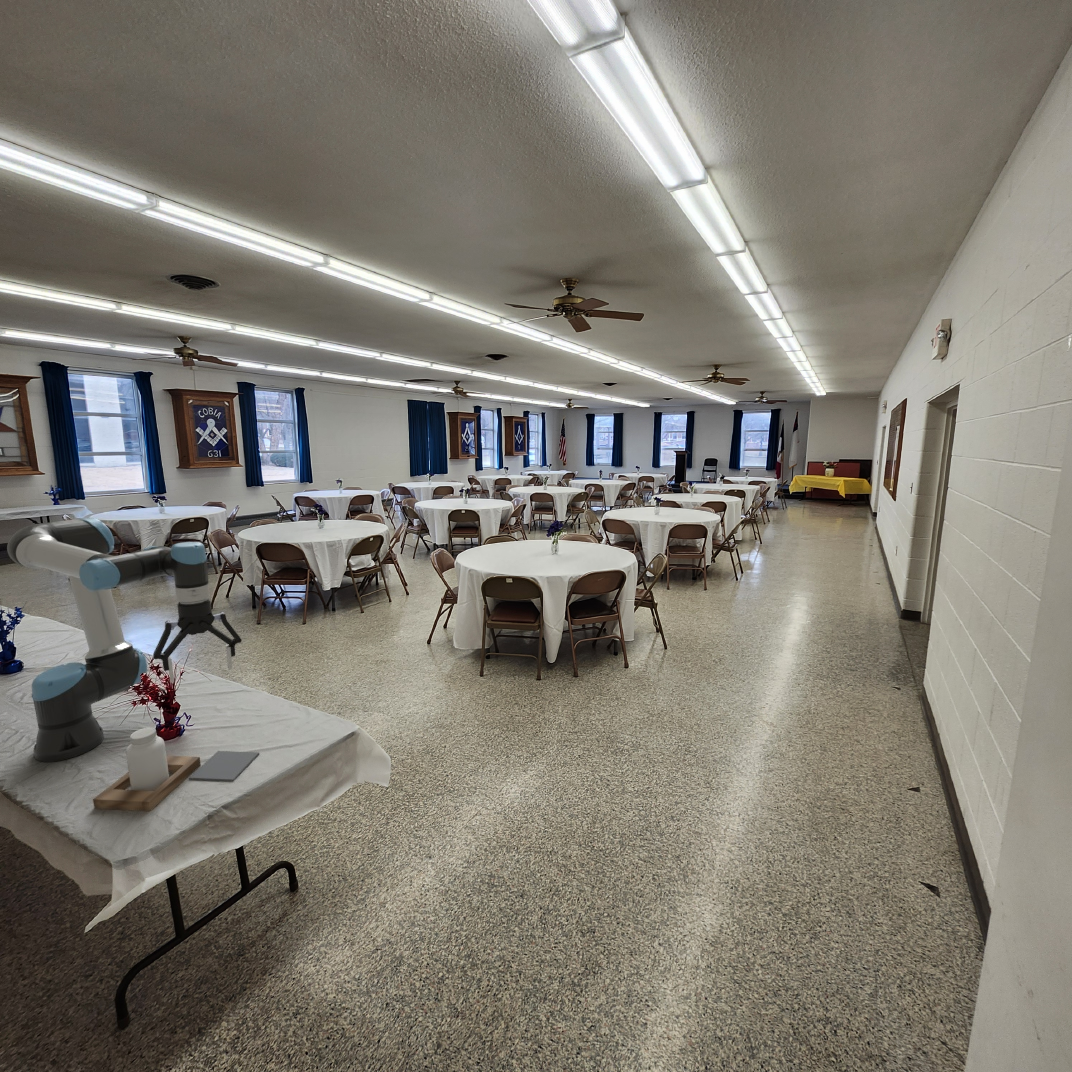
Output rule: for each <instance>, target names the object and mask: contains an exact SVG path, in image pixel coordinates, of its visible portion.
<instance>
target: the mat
mask: <svg viewBox="0 0 1072 1072" xmlns="http://www.w3.org/2000/svg"><path fill="white" fill-rule="evenodd" d="M259 755H260V752H259V751H258V752H257V751H256V752H255V751H254V752H253V751H232V750H231V751H230V750H229V751H228V750H217V751H216V752H215V753H214V754H213V755H212V756H211V757H209V759H207V760H206V761H205V762H204V763H203V764H201V765H200V766H199V767H198V768H197V769H196V770H195V771H194V772H193V773H192V774H190V775H189V776H188V779H189V780H196V781H199V780H200V781H217V782H218V781H219V782H220V781H221V782H224V781H225V782H234V781H235V780H236V779H237V778H238V776H240V775H241V774H242V773H243V772H244V771H245V770H246V768H248V766H249V765H250V764H252V762H253V761H254V760H255V759H256V758H257V757H258V756H259Z"/></svg>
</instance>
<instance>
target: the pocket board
mask: <svg viewBox="0 0 1072 1072" xmlns="http://www.w3.org/2000/svg"><path fill="white" fill-rule="evenodd" d="M166 758H167V765H168V772H169V774H172V775H170V776H169V778H168V779H167V780H166V781H165V782H164V783H163V784H161V785H160V786H159V787H158V788H157V789H156V790H155V791H140V790H132V789H128V788H129V787H131V784H130V777H129V771H128V772H127V773H125V774H123V776H121V777H120V778H119V779H117V780H115V782H113V783H112V784H110V785H109V786H108V787H107V788H106V789H104V790H102V792H100V793H99V794H97V796H95V797H94V798H92V802H93V808H94V809H95V810H96V809H98V810H100V809H101V810H102V809H103V810H104V809H105V810H121V811H143V812H150V811H152V810H154V808H155V807H156V806H157V805H159V804H160V803H161V802H162V801H164V800H165V798H166V797H167V796H169V795H170V794H171V793H172V792H173V791H174V790H176V788H177V787H179V785H181V784H182V783H183V782H184V781H185V780H186V779H187V778H189V777H190V776H191V775H192V774H193V773H194V772H195V771H197V770H198V769H199V768H200V767H201V766H202V764H201V758H200V756H189V755H187V756H186V755H185V756H184V755H182V756H181V755H180V756H179V755H166Z"/></svg>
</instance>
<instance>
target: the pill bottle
mask: <svg viewBox="0 0 1072 1072" xmlns="http://www.w3.org/2000/svg"><path fill="white" fill-rule="evenodd" d="M129 739H130V740H129V741H130V744H129V745H128V747H126V750H125V757H126V764H127V769H128V770H127V771H128V772H129V777H130V784H131V785H130V790H140V791H155V790H156V789H157V788H158V787H159V786H160V785H161V784H163V783H164V782H165V781H166V780H167V779H168V778H169V777H170V773H169V772H168V765H167V758H166V756H167V751H166V744H165V740H164V739H163V737H160V736H158V735H157V730H156V728H154V727H149V726H148V727H143V728H140V729H137V730H136V731H134V732H132V733H131V734H130V736H129Z"/></svg>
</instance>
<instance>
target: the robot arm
mask: <svg viewBox="0 0 1072 1072" xmlns="http://www.w3.org/2000/svg"><path fill="white" fill-rule="evenodd" d="M114 545H115V539H114V535H113V534H112V531H111V530H110V528H109V527H108V526H107V525H106V524H105V523H104V522H103V521H102V520H100V519H97V518H93V517H91V518H88V517H86V518H76V519H73V518H72V519H66V520H59V521H52V522H50V521H49V522H45V523H35V524H31V525H27V526H25V527H22V528H21V529H18V530H17V531H16V532H15V533H14V534H13V535H12V536H11V537H10V539H9V540H8V542H7V547H6V550H7V554H8V556H9V559H11V560H12V561H13V562H14V563H16V564H17V565H19V566H21V567H24V568H28V569H34V570H41V569H46V570H50V571H52V572H55V573H56V572H57V573H61V574H63V575H67V576H68V579H69V583H70V585H71V589H72V593H73V596H74V601H75V603H76V607H77V611H78V614H79V615H78V616H79V618H80V621H81V625H82V628H83V632H84V633H83V634H84V635H85V638H86V643H87V646H88V652H87V653H85V655H84V660H85V664H84V663H82V662H79V661H78V662H75V661H74V662H68V663H65V664H60V665H56V666H53V667H52V668H48V669H47V670H44V671H43V672H41V673H40V674H37V676H36V677H35V678H34V679H33V681H32V682H31V698H32V702H33V706H34V711H35V716H36V722H37V726H38V730H37V734H36V735H37V736H36V741H35V744H34V747H33V755H34V756H33V757H34V758H35V760H36V761H39V762H42V763H44V762H46V763H52V762H59V761H63V760H68V759H72V758H74V757H77V756H78V757H79V756H80V755H83V754H85V753H87V752H90V751H92V750H93V749H95V748H96V747H97V746H99V745H100V744H102V742H103V741H104V738H105V734H104V730H103V728H102V726H100V723H99V722H98V720H97V719H96V718H95V716H94V715H93V710H92V705H94V704H96V703H97V702H100V701H103V700H106V699H108V698H110V697H112V696H115V695H118V694H120V693H122V692H127V691H129V690H130V689H129V687H130V686H133V685H134V684H137V683H140V682H141V676H140V674H142V673H146V675H147V674H148V663H147V659H146V656H145V655H144V654H143V651H142V650H141V649H139V648H136V647H133V644H132V643H131V642H128V641H127V640H125V636H124V633H123V629H122V625H121V622H120V618H119V615H118V612H117V611H118V610H117V608H116V604H115V600H114V599H115V598H114V597H113V593H112V590H111V589H113V588H117V587H120V586H125V585H129V584H134V583H136V582H142V581H145V580H150V579H155V578H159V577H164V576H165V577H166V576H167V577H173V579H174V587H175V589H174V590H175V595H176V601H177V602H178V603H177V613H178V619H177V621H170V620H166V621H165V622H164V630H163V633H162V635H161V637H160V639H159V641H158V642H157V644H156V647H155V650H154V651H153V654H152V655H153V656H152V657H153V659H154V660H161V661H162V667H163V668H162V669H163V671H164V672H166V671H168V673H169V681H170V684H172V683H175V676H174V669H173V661H172V656H171V655H172V654H173V653H174V651H175V650H176V649H177V648H178V646H179V645H180V644H181V643H182V641H183V640H184V639H186V637H187V636H188V635H189V636H194V635H197V634H205V633H206V632H207V631H208V632H210V633H211V634H213V635H214V636H215V637H217V638H218V639H220V640H221V641H223V642H224V643H225V650H226V651H225V653H226V660H227V668H228V670H229V671H230V670H233V663H232V662H233V661H232V658H233V657H235V656H236V647H235V646H236V645H237V644H240V643H242V641H243V640H242V638H241V636H240V635H239V634H238V633H237V631H236V630H235V629H234V627H233V626H232V625H231V624H230V622H229V621H228V620H227V616H226V613H225V612H224V611H220V612H218V613H216V614H213V610H212V600H211V599H210V597H211V592H210V584H209V571H208V570H209V569H208V556H207V554H206V549H205V548H206V547H205V545H204V544H203V543H202V542H198V541H186V542H185V541H184V542H178V543H174V544H173V545H172V546H171V547H168V546H163V545H153V546H152V545H151V546H148V547H146V548H144V549H143V550H142V551H141V550H140V551H136V552H130V553H125V554H120V555H111V554H110V553H112V552H113V551H114V549H115V546H114ZM215 620H217V621H218V622H220V623H222V624H223V626H224V627H225V628H226V630H227V632H229V634H230V635H231V637H232V638H230V637H229V636H227V635H226V634H225V633H223V632H222V631H220V630H219V629H218V628H216V627H215V626H214V625H213V623H214V621H215ZM176 627H178V628H179V629H180V630H179V631H178V634H177V635H176V636H175V637H174V638H173V640H172V641H171V643H170V644H169V645H168V646H167V648H166V649H165V647H166V644H167V642H168V639H169V638H170V635H171V633H172V631H174V629H175V628H176ZM164 649H165V650H164ZM141 683H142V682H141ZM141 683H140V684H141Z"/></svg>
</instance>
